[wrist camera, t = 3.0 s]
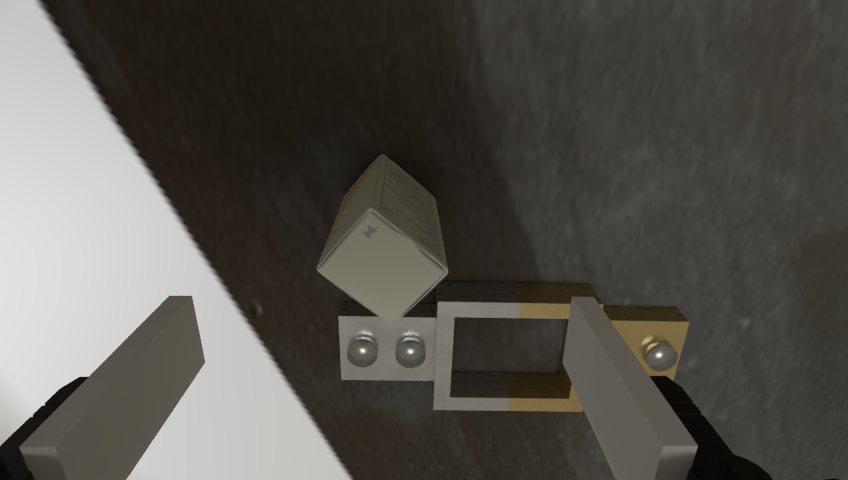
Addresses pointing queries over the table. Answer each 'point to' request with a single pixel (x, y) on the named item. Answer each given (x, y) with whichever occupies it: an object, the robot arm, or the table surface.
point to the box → (385, 242)
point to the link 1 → (428, 344)
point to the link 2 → (639, 326)
